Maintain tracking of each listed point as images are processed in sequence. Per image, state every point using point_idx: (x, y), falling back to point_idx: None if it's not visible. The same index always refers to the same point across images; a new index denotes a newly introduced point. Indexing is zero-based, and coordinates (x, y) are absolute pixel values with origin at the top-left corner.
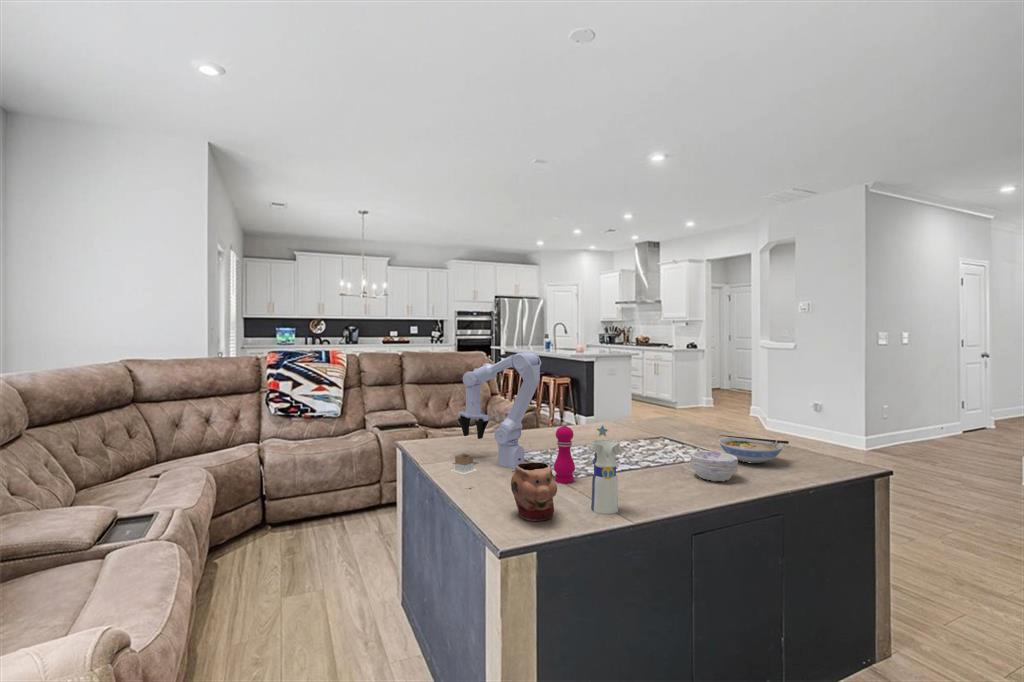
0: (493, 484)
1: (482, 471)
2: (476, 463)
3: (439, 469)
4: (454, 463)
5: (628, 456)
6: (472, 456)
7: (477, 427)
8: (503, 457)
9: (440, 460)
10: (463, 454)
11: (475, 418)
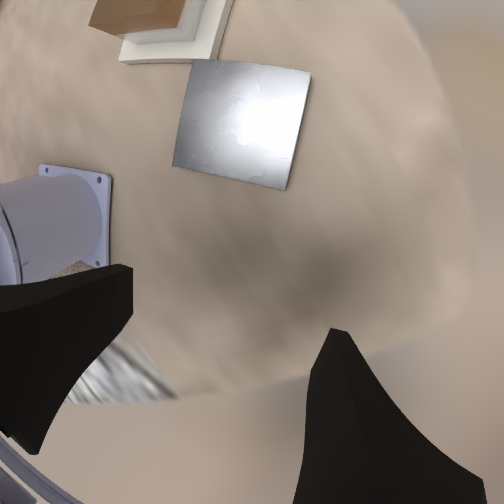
0: (50, 26)
1: (123, 98)
2: (178, 147)
3: (343, 12)
4: (300, 79)
5: None
6: (90, 20)
7: (19, 300)
8: (32, 182)
9: (450, 179)
10: (151, 2)
11: (42, 483)
